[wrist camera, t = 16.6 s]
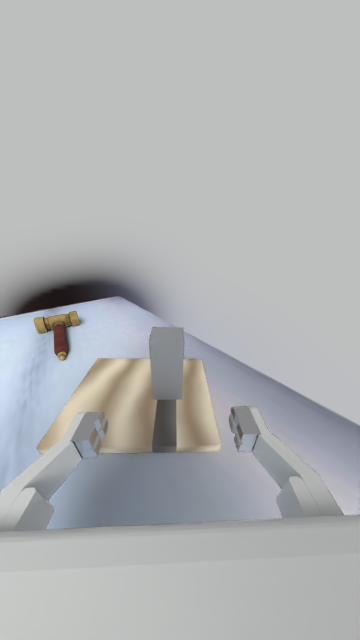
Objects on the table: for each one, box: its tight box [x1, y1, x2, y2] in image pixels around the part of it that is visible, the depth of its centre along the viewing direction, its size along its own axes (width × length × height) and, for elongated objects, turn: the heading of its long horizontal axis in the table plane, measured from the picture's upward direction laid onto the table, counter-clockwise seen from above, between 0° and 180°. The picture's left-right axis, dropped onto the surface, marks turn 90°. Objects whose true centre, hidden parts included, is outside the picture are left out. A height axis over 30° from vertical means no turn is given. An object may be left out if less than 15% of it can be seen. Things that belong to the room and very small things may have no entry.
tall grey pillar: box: [149, 327, 184, 400], centre depth 24 cm, size 4×4×11 cm
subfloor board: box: [36, 358, 221, 454], centre depth 26 cm, size 22×16×2 cm
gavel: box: [34, 311, 80, 360], centre depth 41 cm, size 21×5×10 cm
